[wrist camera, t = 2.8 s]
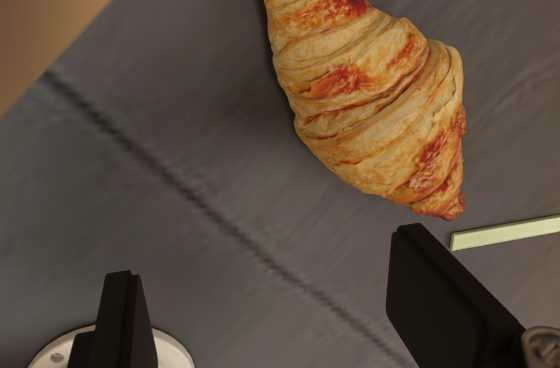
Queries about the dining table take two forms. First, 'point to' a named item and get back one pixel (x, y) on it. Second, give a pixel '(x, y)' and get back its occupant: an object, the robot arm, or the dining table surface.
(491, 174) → the dining table surface
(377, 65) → the croissant
